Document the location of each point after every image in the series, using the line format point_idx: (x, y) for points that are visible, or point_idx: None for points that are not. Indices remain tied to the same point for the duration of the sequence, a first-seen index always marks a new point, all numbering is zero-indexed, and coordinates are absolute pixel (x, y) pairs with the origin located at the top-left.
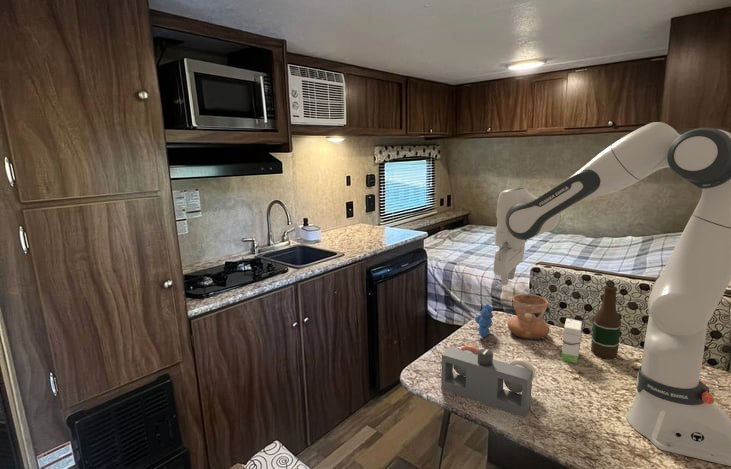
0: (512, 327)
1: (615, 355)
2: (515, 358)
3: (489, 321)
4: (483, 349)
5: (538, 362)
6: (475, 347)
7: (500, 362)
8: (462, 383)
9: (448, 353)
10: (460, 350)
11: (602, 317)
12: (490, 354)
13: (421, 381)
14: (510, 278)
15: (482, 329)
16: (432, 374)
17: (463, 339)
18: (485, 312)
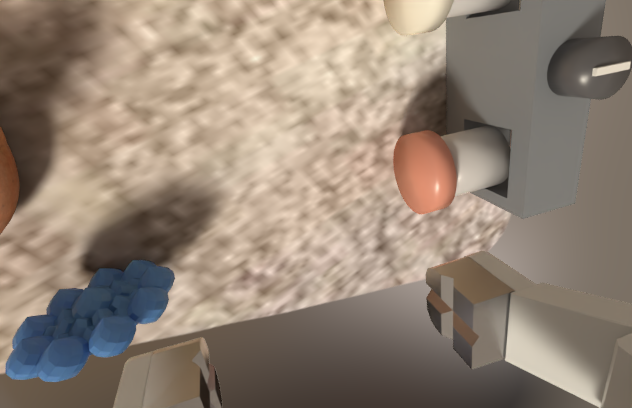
0: (5, 214)
1: None
2: (426, 7)
3: (101, 295)
4: (590, 88)
5: (151, 10)
6: (439, 170)
7: (549, 19)
8: (496, 127)
9: (560, 194)
10: (528, 179)
11: None
12: (617, 44)
13: (483, 221)
14: (203, 370)
15: (167, 278)
16: (445, 224)
17: (211, 297)
18: (122, 331)
